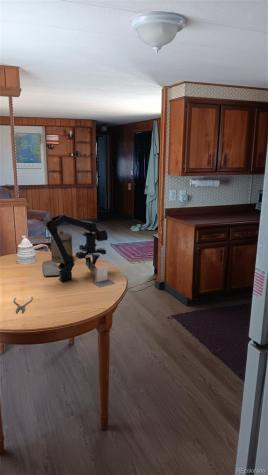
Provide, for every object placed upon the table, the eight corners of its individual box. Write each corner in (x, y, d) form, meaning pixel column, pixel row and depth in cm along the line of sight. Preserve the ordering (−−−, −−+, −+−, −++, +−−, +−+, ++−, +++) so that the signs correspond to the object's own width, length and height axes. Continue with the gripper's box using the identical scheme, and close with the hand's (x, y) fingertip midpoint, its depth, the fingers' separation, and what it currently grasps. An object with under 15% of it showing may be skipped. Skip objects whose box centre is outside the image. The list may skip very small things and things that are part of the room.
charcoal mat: (99, 288, 197) (99, 287, 197) (90, 282, 206) (90, 281, 206) (115, 284, 203) (115, 283, 203) (106, 278, 212) (106, 278, 212)
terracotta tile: (97, 282, 205) (97, 268, 202) (95, 281, 206) (95, 267, 204) (107, 279, 209) (107, 266, 206) (105, 278, 210) (105, 264, 208)
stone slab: (56, 259, 243) (60, 272, 215) (57, 264, 244) (60, 276, 216) (41, 261, 240) (43, 273, 212) (41, 265, 241) (43, 278, 213)
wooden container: (73, 256, 257) (72, 227, 252) (71, 262, 243) (70, 232, 238) (53, 257, 256) (52, 227, 251) (49, 263, 242) (48, 232, 237)
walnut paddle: (82, 264, 218) (84, 258, 216) (91, 262, 222) (92, 256, 219) (94, 280, 208) (96, 274, 206) (103, 278, 212) (105, 272, 209)
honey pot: (14, 261, 246) (12, 236, 242) (31, 257, 254) (29, 233, 250) (22, 265, 237) (20, 239, 233) (39, 261, 245) (38, 236, 241)
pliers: (32, 295, 186) (37, 310, 168) (32, 296, 186) (37, 311, 168) (12, 297, 182) (16, 313, 164) (13, 299, 182) (16, 315, 164)
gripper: (97, 237, 224) (97, 260, 227) (71, 241, 213) (71, 265, 217) (106, 241, 215) (106, 265, 219) (79, 245, 204) (80, 270, 208)
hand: (91, 266), depth 216 cm, fingers closed on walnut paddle, 2 cm apart
